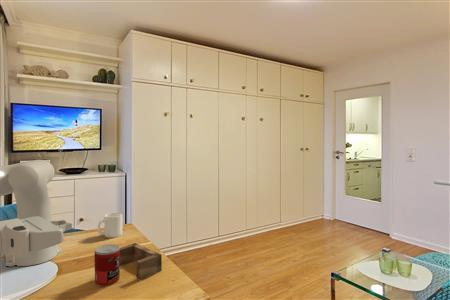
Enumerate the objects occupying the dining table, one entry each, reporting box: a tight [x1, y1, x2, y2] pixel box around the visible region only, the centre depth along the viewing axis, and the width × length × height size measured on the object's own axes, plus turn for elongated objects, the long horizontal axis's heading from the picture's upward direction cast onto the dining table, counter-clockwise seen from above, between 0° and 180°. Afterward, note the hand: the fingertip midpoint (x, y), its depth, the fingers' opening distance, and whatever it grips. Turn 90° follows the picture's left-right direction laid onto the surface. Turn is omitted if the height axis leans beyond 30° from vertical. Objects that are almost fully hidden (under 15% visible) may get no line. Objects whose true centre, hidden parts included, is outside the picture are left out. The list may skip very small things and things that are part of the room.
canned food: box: [94, 243, 121, 287], centre depth 93 cm, size 8×8×11 cm
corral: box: [119, 242, 163, 281], centre depth 102 cm, size 17×9×6 cm, turn 51°
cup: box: [97, 212, 123, 239], centre depth 135 cm, size 8×12×10 cm
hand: (68, 224), depth 83 cm, fingers open, 3 cm apart
